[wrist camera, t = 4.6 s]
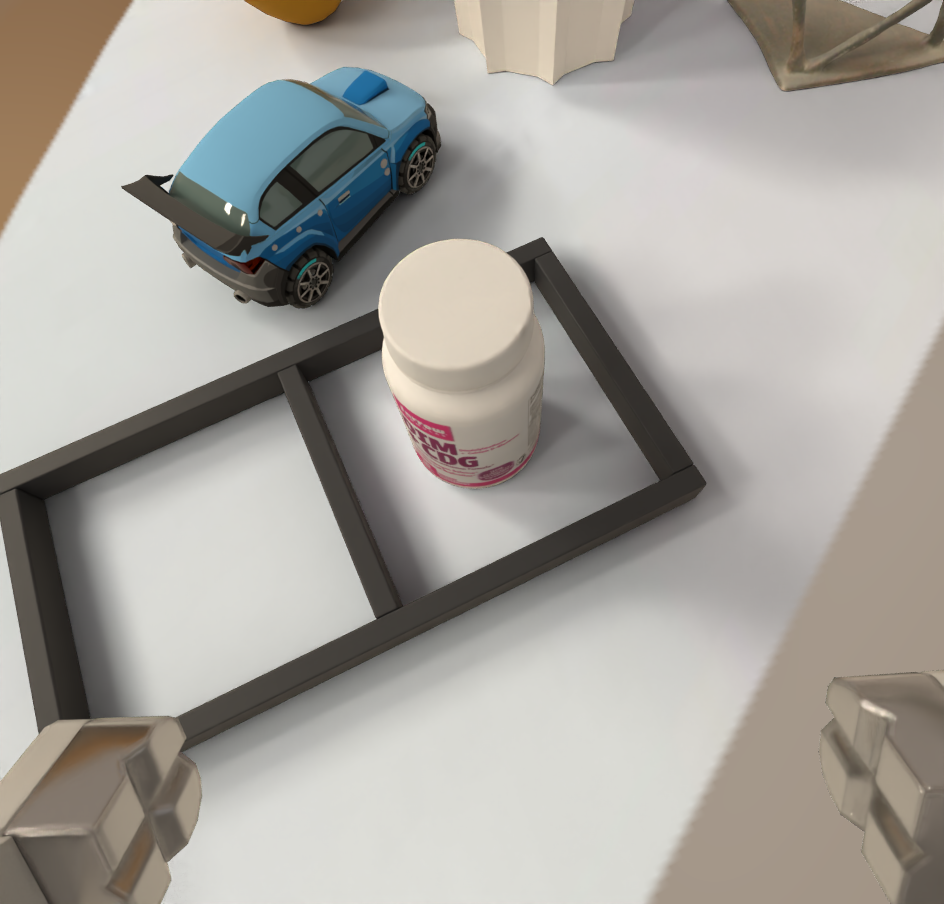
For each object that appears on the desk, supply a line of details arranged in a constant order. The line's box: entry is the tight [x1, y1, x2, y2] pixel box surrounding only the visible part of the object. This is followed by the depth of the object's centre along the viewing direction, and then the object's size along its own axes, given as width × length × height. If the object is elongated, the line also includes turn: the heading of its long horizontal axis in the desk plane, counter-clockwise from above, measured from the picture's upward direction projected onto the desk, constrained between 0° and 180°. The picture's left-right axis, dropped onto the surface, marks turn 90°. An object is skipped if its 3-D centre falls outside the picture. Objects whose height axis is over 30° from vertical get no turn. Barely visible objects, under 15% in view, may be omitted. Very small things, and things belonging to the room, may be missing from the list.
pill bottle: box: [378, 239, 545, 489], centre depth 20 cm, size 5×5×8 cm
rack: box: [0, 237, 706, 752], centre depth 23 cm, size 12×22×2 cm, turn 115°
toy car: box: [121, 67, 441, 309], centre depth 26 cm, size 6×12×6 cm, turn 143°
